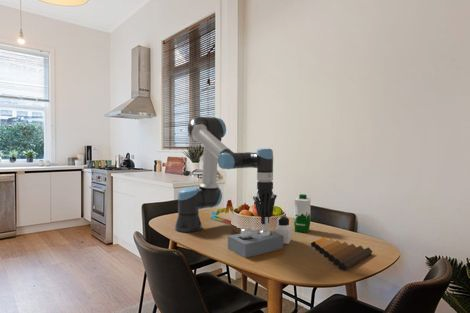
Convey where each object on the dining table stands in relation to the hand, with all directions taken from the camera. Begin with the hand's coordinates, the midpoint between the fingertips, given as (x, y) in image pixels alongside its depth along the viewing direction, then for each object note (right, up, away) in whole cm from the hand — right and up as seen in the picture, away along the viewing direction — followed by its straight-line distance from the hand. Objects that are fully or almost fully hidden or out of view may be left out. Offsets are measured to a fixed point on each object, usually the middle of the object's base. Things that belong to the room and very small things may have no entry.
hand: (265, 230), depth 143 cm
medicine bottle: (+10, -8, +8) cm, 15 cm away
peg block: (-5, -8, -3) cm, 9 cm away
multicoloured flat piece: (-20, -7, +44) cm, 48 cm away
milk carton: (+24, -7, +27) cm, 37 cm away
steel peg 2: (0, -5, 0) cm, 5 cm away
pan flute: (+29, -9, -10) cm, 32 cm away
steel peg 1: (-9, -3, -6) cm, 11 cm away
